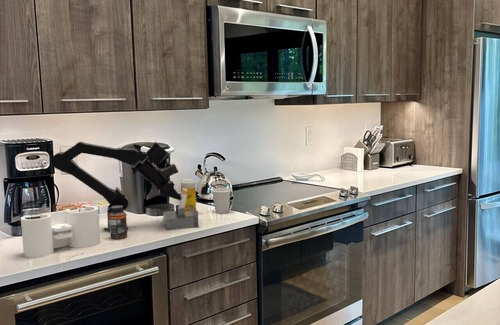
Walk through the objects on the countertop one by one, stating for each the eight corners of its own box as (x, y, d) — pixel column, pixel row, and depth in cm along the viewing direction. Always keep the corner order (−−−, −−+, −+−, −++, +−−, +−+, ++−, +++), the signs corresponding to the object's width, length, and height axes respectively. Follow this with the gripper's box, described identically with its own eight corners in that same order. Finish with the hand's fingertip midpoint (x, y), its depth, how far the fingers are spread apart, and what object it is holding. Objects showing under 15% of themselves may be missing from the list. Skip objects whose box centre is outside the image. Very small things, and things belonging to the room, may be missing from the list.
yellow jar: (179, 214, 210) (177, 180, 209) (190, 212, 215) (188, 178, 213) (188, 216, 206) (187, 181, 205) (199, 214, 211) (198, 179, 209)
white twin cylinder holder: (30, 260, 153) (27, 222, 151) (19, 253, 160) (17, 216, 158) (105, 243, 169) (103, 209, 168) (93, 238, 176) (91, 205, 175)
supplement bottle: (120, 234, 181) (119, 204, 179) (130, 236, 177) (129, 205, 175) (106, 237, 176) (105, 206, 175) (116, 240, 172) (115, 208, 171)
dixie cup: (235, 212, 212) (234, 189, 211) (218, 215, 208) (217, 192, 206) (225, 209, 219) (225, 187, 218) (209, 211, 215) (208, 189, 213)
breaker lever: (179, 212, 190) (184, 190, 190) (177, 209, 195) (182, 187, 195) (183, 212, 191) (188, 190, 190) (181, 210, 196) (186, 188, 195)
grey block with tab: (166, 229, 185) (166, 211, 184) (163, 221, 199) (162, 204, 198) (198, 227, 188) (197, 209, 188) (193, 219, 202) (192, 202, 201)
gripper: (167, 160, 180) (198, 187, 184) (162, 155, 198) (191, 180, 202) (146, 182, 179) (178, 210, 183) (143, 175, 197) (172, 200, 201)
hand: (180, 199), depth 192 cm, fingers closed, pressing on breaker lever
